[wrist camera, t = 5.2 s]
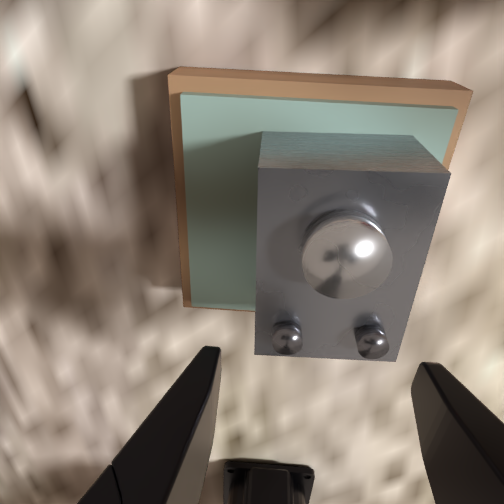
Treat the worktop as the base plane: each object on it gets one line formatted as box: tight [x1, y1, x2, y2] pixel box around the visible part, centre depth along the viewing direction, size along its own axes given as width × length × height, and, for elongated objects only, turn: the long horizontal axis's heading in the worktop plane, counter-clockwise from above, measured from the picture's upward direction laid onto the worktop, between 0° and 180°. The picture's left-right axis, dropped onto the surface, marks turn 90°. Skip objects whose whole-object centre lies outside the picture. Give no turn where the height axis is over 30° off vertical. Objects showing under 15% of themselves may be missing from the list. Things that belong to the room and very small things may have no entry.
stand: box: [168, 67, 473, 312], centre depth 16 cm, size 10×10×2 cm
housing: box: [254, 131, 451, 362], centre depth 13 cm, size 7×5×4 cm
